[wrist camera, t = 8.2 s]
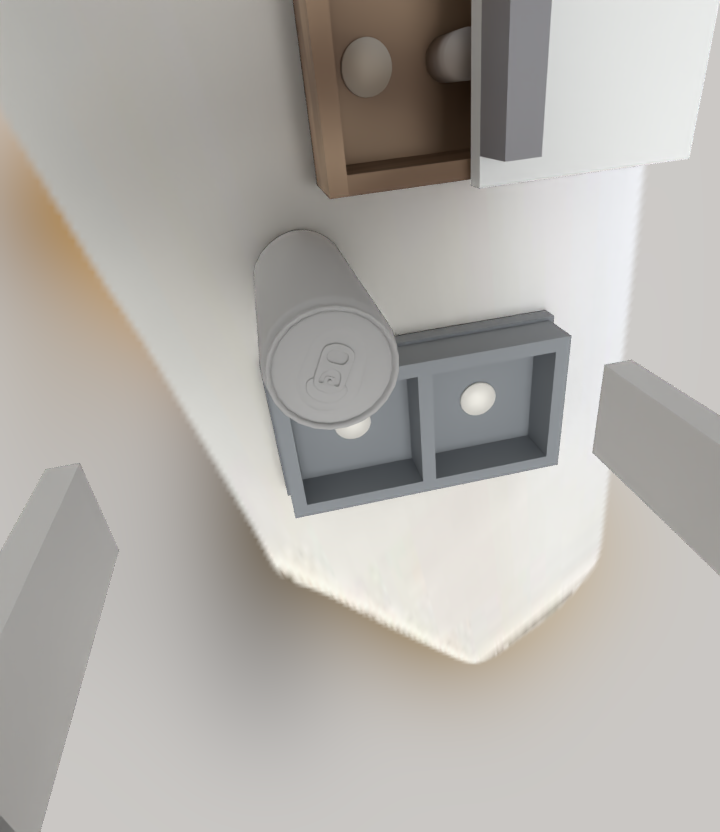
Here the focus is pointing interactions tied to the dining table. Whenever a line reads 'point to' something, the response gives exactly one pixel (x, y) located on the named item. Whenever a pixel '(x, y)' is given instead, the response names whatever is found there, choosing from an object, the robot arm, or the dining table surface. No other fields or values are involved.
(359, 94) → the tray
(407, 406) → the socket board
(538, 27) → the lid
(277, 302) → the beverage can
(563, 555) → the dining table surface
